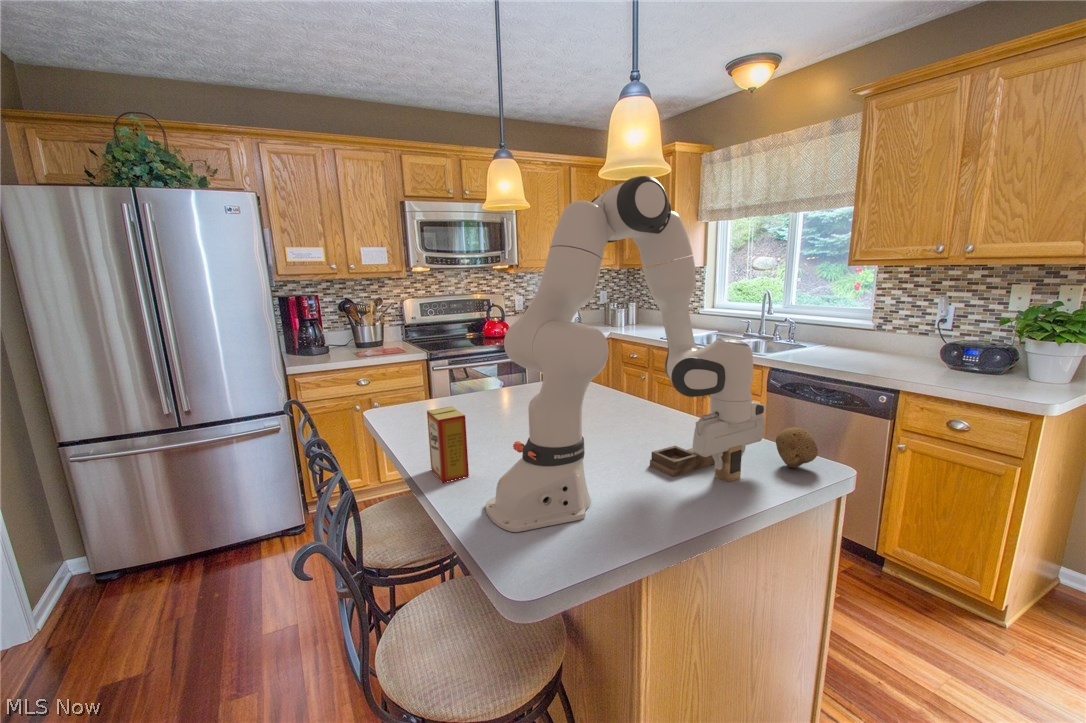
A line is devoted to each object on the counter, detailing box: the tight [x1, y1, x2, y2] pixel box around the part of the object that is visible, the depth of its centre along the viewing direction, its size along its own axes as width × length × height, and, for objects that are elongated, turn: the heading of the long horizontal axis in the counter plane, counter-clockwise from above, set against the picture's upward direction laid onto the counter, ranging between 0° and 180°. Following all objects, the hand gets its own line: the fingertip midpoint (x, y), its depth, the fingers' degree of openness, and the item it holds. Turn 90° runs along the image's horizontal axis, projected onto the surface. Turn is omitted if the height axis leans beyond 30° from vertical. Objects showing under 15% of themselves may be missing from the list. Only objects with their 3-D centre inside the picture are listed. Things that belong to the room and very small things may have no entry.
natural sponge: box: [775, 426, 819, 468], centre depth 117 cm, size 9×9×10 cm
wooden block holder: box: [649, 421, 715, 477], centre depth 122 cm, size 19×8×10 cm, turn 119°
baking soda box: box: [426, 406, 470, 484], centre depth 119 cm, size 10×6×16 cm
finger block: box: [714, 445, 742, 483], centre depth 113 cm, size 4×4×8 cm
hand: (727, 465), depth 114 cm, fingers closed on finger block, 4 cm apart
